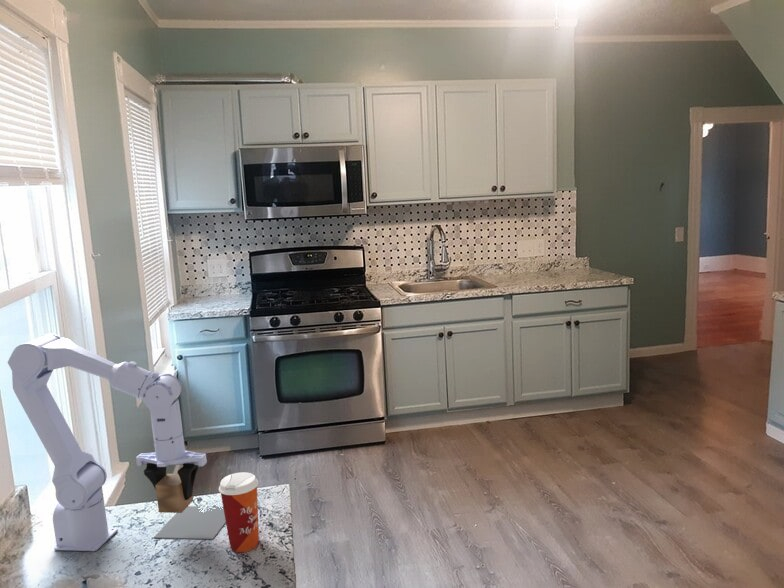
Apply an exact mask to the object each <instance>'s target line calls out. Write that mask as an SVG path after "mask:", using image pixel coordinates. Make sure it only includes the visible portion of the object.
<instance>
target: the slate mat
mask: <svg viewBox="0 0 784 588" xmlns="http://www.w3.org/2000/svg"><path fill="white" fill-rule="evenodd" d="M198 506H199V505H198ZM198 506H193V505H189V506H188V507H187V508H186V509H185V510H184V511H183V512H182V513H174V515H173V516H172V517H171V518H170V519H169V520H168V522H167V523H166V524H164V526H163V527H162V528H161V529H160V530H159V531H158V532H157V533H156V534H155V535H154V537H153V539H169V540H171V539H176V540H177V539H178V540H179V539H180V540H186V539H187V540H214V539H215V537H216V536H217V535H218V534H219V532H220V531H221V529H222V528H224V525H226V520H225V514H224V509H222V508H223V506H214V507H215V508H216V509H212V508H209V509H210V510H209V509H207V511H206V512H204V513H203V512H201V511H202V510H203V509H202V510H201V509H198V508H200V506H201V505H200V506H199V507H198ZM219 507H220V508H219ZM221 507H222V508H221ZM220 509H221V510H220ZM200 510H201V511H200ZM208 510H209V511H208ZM211 510H212V511H211ZM199 511H200V512H199ZM204 511H205V510H204Z"/></svg>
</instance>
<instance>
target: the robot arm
mask: <svg viewBox="0 0 784 588" xmlns="http://www.w3.org/2000/svg"><path fill="white" fill-rule="evenodd" d="M7 365H8V366H9V368H10V371H11V378H12V379H11V380H12V390H13V392H14V394H15V396H16V397H17V399H18V402H19V403H20V405H21V407H22V409H23V410H24V412H25V414H26V416H27V418H28V419H29V421H30V423H31V426H32V427H33V428H34V431H35V432H36V434H37V436H38V438H39V439H40V442H41V444H42V445H43V448H45V450H46V452H47V454H48V456H49V458H50V460H51V461H52V463H53V465H54V470H53V475H52V479H51V480H52V483H53V486H54V488H55V499H56V500H57V505H56V506H55V508H54V510H53V513H52V524H53V530H54V531H53V532H54V537H55V543H56V545H55V546H54V547H53V548H54V551H77V552H96V551H98V550H99V549H100V548H101V547H102V546H103V545H104V544H105V543H106V542H108V540H109V539H111V537H113V536H114V535H115V534H116V533H117V532H118V531H119V530H118V528H117V527H115V528H114V527H111V528H110V527H108V520H107V519H108V518H107V512H106V506H105V499H104V492H103V491H104V490H103V486H104V485H105V484H106V481H107V471H106V468H104V466H103V465H102V464H100V463H98V462H97V461H96V460H95V457H94V456H93V455H92V454H91V453H88V452H85V451H83V450H82V449H81V447H80V445H79V443H78V442H77V439H76V437H75V436H74V434H73V432H72V430H71V428H70V426H69V424H68V422H67V421H66V418H65V417H64V415H63V413H62V412H61V409H60V407H59V405H58V404H57V402H56V401H55V399H54V396H53V394H52V393H51V391H50V388H49V387H48V385H47V384H48V381H49V380H50V377H51V376H52V373H53V371H54V370H57V369H62V368H63V369H64V368H66V367H70V368H73V369H76V370H80V371H82V372H86V373H89V374H91V375H93V376H97V377H100V378H102V379H105V380H108V382H109V384H110V387H111V388H112V389H114V390H117V391H120V392H122V393H124V394H127V395H129V396H131V397H134V398H136V399H139V400H142V402H143V403H144V405H145V406H146V408H148V410H149V412H150V422H151V431H152V437H153V446H154V452H146V453H145V452H144V453H140V454H138V455H137V456H136V457H135V463H136V466H137V467H141V466H143V465H146V467H145V469H144V470H143V474H144V476H145V477H146V478H147V479H148V480H149V481H150V482H151V484H152V486H153V487H154V490H155V491H156V487H155V485H156V484H157V483H158V482H159V481H160V480H161V479H162V478H164V477H165V476H166V475H167V467H168V466H181V467H180V468H179V469H178V470H177V474H178V475H179V477H180V479H181V482H182V486H183V494H184V498H185V500H188V499H189V498H190V497H191V496H192V495H194V494H193V493H194V491H193V490H194V483H195V480H196V476H197V473H198V471H199V468H200V467H204V466H205V465H206V464H207V463H208V460H207V454H206V453H200V452H194V451H190V450H186V449H185V447H186V446H185V439H184V432H183V430H184V429H183V422H182V414H181V409H180V408H181V407H180V401H179V396H180V395H181V393H182V384H181V382H180V380H179V379H178V378H177V377H176V376H174V375H172V374H171V373H162V374H160V373H159V372H158V371H154V372H153V371H150V370H147V369H145V368H143V367H141V366H138V362H136V361H133V360H132V361H129V362H128V361H123V362H120V363H115V362H114V361H111V360H109V359H107V358H105V357H103V356H101V355H98V354H97V353H94V352H92V351H91V350H88V349H86V348H84V347H81V346H79V345H77V344H76V343H74V342H73V341H72V340H71V339H70V338H65V337H62V336H60V335H58V334H56V333H46V334H43V335H41V336H40V337H38V338H35V339H33V340H31V341H28V342H26V343H25V342H24V343H21V344H19V345H17V346H16V347H15V348H14V349H13V350H12V353H11V354H10V356H9V358H8V360H7Z"/></svg>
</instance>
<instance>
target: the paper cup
mask: <svg viewBox="0 0 784 588" xmlns="http://www.w3.org/2000/svg"><path fill="white" fill-rule="evenodd" d="M258 486H259V480H258V479H257V477H256V475H255V474H253V473H251V472H244V471H243V472H242V471H241V472H234V473H231V474H228V475H226V476H224V477H223V478H222V479H221V480H220V483H219V486H218V492H219V493H220V497H221V502H222V507H223V509H224V514H225V520H226V523H225V525H226V529H227V530H226V531H227V536H228V541H229V545H230V546H229V548H230V549H231V551H232V552H235V553H246V552H249V551H252V550H254V549H256V547H258V546H259V541H260V539H259V538H260V537H259V536H260V535H259V534H260V533H259V532H260V531H259V530H260V529H259V528H260V527H259V510H258V509H259V506H258V501H259V500H258Z"/></svg>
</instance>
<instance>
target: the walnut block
mask: <svg viewBox="0 0 784 588" xmlns="http://www.w3.org/2000/svg"><path fill="white" fill-rule="evenodd" d="M155 487H156V490H155V492H156V493H155V494H156V501H157V502H156V503H157V508H158V513H165V514H167V513H168V514H169V513H171V514H172V513H173V514H176V513H182V512H183V511H184V510H185V509H186V508H187V507H188V506H191V504H192V503H193V501H194V498H193V497H194V496H193V495H194V494H192V496H191V497H190V498H189V499H188V500H185V498H184V494H183V486H182V482H181V479H180V477H179V475H178V473H166V476H165V477H164V478H162V479H161V480H160V481H159V482H158V483H157V484H156V485H155Z"/></svg>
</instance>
